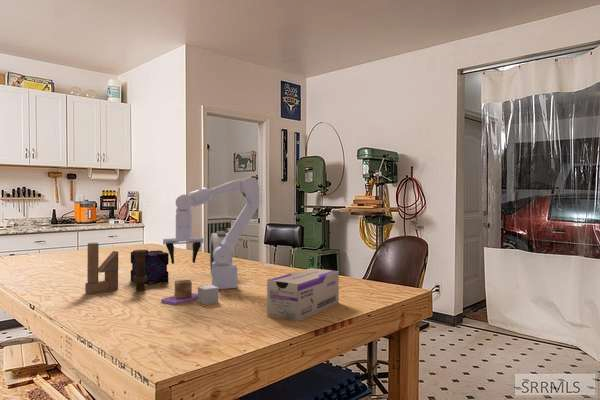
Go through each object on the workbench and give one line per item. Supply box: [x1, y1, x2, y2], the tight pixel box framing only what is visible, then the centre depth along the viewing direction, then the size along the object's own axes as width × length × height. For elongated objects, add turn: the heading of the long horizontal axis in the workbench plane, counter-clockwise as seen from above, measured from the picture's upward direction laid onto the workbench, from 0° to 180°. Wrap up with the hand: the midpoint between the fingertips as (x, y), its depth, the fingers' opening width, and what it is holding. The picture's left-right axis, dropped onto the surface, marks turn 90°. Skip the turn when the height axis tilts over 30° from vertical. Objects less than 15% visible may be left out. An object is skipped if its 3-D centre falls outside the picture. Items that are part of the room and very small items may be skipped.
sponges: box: [160, 292, 198, 306], centre depth 140 cm, size 7×13×2 cm, turn 147°
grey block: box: [197, 284, 219, 306], centre depth 137 cm, size 5×5×5 cm
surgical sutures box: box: [266, 267, 340, 323], centre depth 129 cm, size 25×11×11 cm, turn 148°
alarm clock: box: [209, 230, 233, 276], centre depth 185 cm, size 21×8×20 cm, turn 17°
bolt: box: [131, 249, 150, 292], centre depth 153 cm, size 6×5×15 cm
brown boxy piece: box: [174, 279, 193, 299], centre depth 140 cm, size 5×5×5 cm
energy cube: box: [130, 249, 170, 286], centre depth 171 cm, size 12×12×12 cm
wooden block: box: [84, 242, 119, 295], centre depth 153 cm, size 4×11×18 cm, turn 145°
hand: (183, 262), depth 156 cm, fingers open, 7 cm apart
